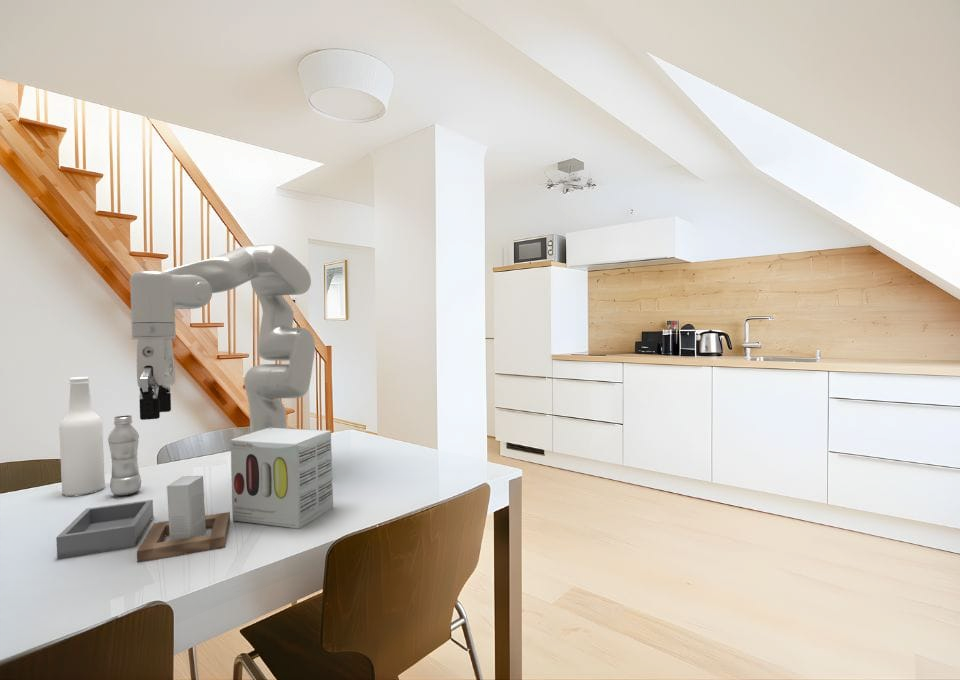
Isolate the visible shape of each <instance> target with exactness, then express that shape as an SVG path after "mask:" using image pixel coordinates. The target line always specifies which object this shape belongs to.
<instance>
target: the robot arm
mask: <svg viewBox="0 0 960 680" xmlns="http://www.w3.org/2000/svg"><path fill="white" fill-rule="evenodd" d="M129 281H130V282H129V283H130V288H129V289H130V314H131V315H130V316H131V317H130V318H131V319H130V320H131V340H136V341H137V343H136V381H137V387H139V418H140V420H141V421H145V420H146V421H147V420H157V419H160V417H161V413H170V412H171V411H172V398H171V397H172V394H171V386H173V385H175V383H176V370H175V357H174V356H175V355H174V346H173V340H174V339H177V337H176V335H177V334H176V310H195V309H200V308H203V307H205V306H206V305H208V304H209V302H210V301H211V299H212V297H213V294H216V293H217V294H218V293H223V292H227V291H230V290H233V289H235V288H238V287H239V286H241V285H243V284H245V283H248V282H249V281H250V285H251V288H252V289H253V291H254V293H255V295H256V296H257V299H258V301H259V302H260V306H261V308H262V309H261V310H262V316H261V323H260V326H259V327H260V329H259V333H258V338H257V348H256V351H257V355H258V357H259V358H260V359H263V360H266V361H275V362H277V361H278V362H279V361H280V362H283V361H284V362H287V361H289V363H288V364H282V363H281V364H280V363H275V364H273V363H272V364H271V363H270V364H268V363H266V364H258V365H255V366H252V367H251V368H249V369H248V370H247V372H246V373H245V375H244V389H245V392H246V396H247V401H248V409H249V434H250V433H253V432H256V431H260V430H263V429H267V428H286V429H288V427H287V426H288V425H287V421H288V420H287V411H286V407H285V405H284V404H283V402H282V401H281V399H300V398H303V397H304V396H305V395H306V394H307V393H308V391H309V388H310V384H311V379H312V374H313V367H314V360H315V352H316V341H315V338H314V335H313V333H312V332H311V331H310V330H309V329H307V328H306V327H305V328H304V327H293V324H294V318H295V317H294V315H295V314H294V310H293V308H292V305H291V304H290V303H289V302H288V301H287V300H286V298H285V297H284V296H299V295H303V294H305V293H307V292H308V291H309V290H310V287H311V285H312V279H311V275H310V272H309V270H308V268H307V267H306V266H305V265H303V263H301V261H299V260H298V259H297V258H296V257H295V256H294V255H293V254H292V253H290V252H289V251H288V250H286V249H285V248H283V247H281V246H279V245H276V244H257V245H246V246H241V247H238V248H236V249H233V250H231V251H228V252H225V253H223V254H220V255H218V256H215V257H212V258H207V259H203V260H199V261H195V262H192V263H187V264H184V265H180V266H179V265H178V266H176V267H172V268H169V269H166V270H162V271H158V270H140V271H136V272H133V273H132V274H131V276H130V280H129ZM172 339H173V340H172Z"/></svg>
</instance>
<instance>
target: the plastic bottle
mask: <svg viewBox="0 0 960 680" xmlns="http://www.w3.org/2000/svg"><path fill="white" fill-rule="evenodd" d="M113 417H114V418H113V425H114V427H113V429H112V430H111V431H110V433H109V435H108V436H107V437H108V438H107V442H108V443H107V444H108V446H109V451H110V457H111V475H110V476H111V478H110V483H109V489H110V492H111V494H113V496H128V495H132V494H134V493H137V492H139V491H140V489H141V487H142V477H141V475H140V470H139V464H138V463H139V462H138V449H139V438H140V434H139V432H138V430H136V429H135V427H134V426H132V424H133V420H132V419H133V418H132V415H117V416H113Z"/></svg>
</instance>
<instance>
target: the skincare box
mask: <svg viewBox="0 0 960 680" xmlns="http://www.w3.org/2000/svg"><path fill="white" fill-rule="evenodd" d="M204 487H205V486H204V476H203V475H187V476H181V477H179V478H177V479H176V480H174V481H173V482H172V483H170V484H168V485H167V486H166V495H167V512H168V513H167V515H168V521H169V535H168V536H169V541H172V540H178V539H184V538H191V537H197V536H203V535H205V533H206V532H207V529H206V525H205V516H206V509H205V506H206V505H205V488H204Z"/></svg>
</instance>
